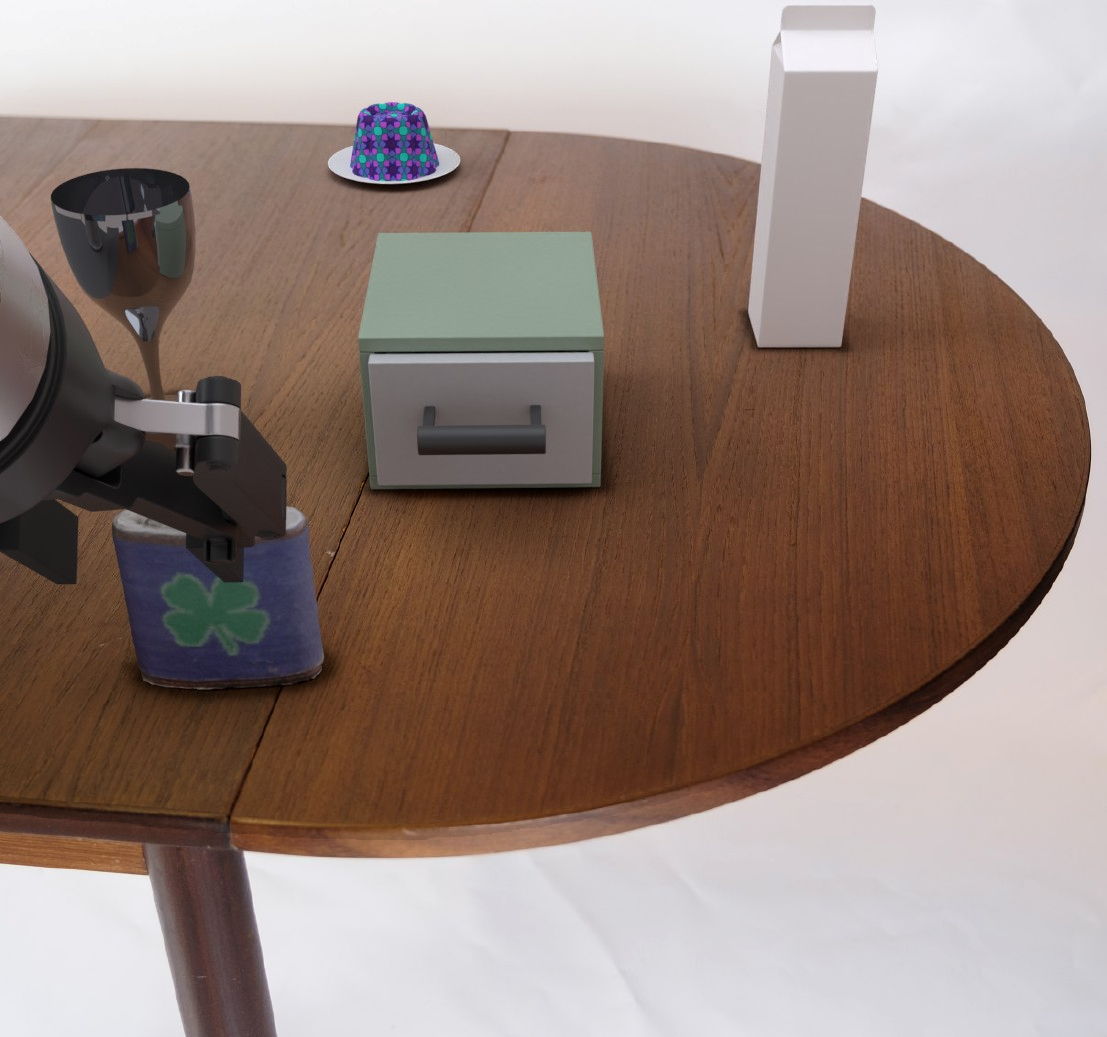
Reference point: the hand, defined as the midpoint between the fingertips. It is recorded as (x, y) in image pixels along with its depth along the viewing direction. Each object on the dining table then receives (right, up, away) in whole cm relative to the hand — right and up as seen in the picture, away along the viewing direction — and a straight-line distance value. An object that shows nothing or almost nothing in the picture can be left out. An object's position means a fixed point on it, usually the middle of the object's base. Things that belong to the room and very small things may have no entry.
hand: (150, 549), depth 57 cm
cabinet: (+12, +11, +36) cm, 39 cm away
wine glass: (-9, +11, +37) cm, 39 cm away
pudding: (+1, +40, +75) cm, 85 cm away
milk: (+33, +19, +48) cm, 61 cm away
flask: (0, -5, +16) cm, 16 cm away
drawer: (+12, +9, +32) cm, 36 cm away
